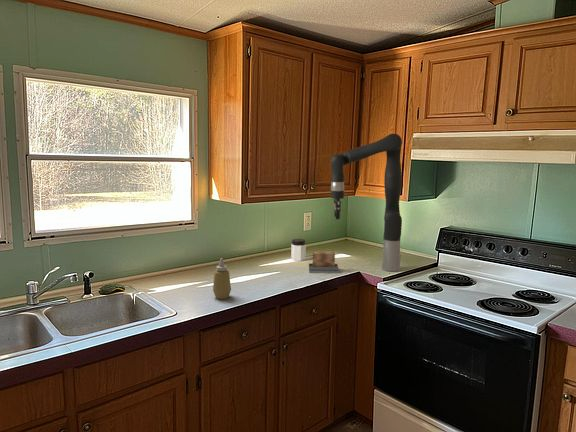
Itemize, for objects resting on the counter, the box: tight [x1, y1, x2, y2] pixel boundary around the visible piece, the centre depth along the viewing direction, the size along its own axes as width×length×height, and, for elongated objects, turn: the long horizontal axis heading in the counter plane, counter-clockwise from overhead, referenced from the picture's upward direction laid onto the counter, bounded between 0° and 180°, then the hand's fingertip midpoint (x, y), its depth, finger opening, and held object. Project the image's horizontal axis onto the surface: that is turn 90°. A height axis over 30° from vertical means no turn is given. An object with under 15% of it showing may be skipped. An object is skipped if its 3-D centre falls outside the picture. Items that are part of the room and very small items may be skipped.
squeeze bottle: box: [212, 257, 232, 300], centre depth 191 cm, size 8×8×18 cm
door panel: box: [312, 251, 336, 267], centre depth 235 cm, size 12×3×9 cm, turn 88°
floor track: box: [308, 262, 340, 274], centre depth 236 cm, size 16×9×3 cm, turn 88°
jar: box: [290, 238, 307, 262], centre depth 260 cm, size 9×8×12 cm
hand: (337, 218), depth 244 cm, fingers open, 8 cm apart
